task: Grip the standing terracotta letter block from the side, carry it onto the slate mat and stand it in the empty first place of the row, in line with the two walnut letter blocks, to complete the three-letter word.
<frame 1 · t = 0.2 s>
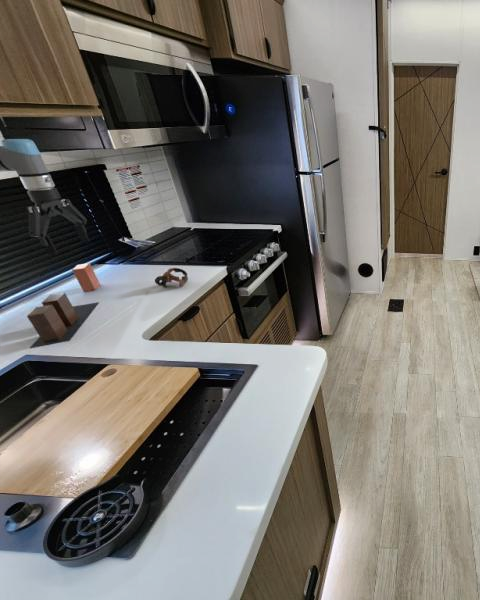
hand: (70, 247, 124), 21 cm above the worktop, tool pointing down, fingers open, 13 cm apart
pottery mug: (173, 286, 142), on the worktop
letter c: (56, 336, 108), point 1 cm above the worktop, touching word mat
letter b: (68, 322, 115), point 1 cm above the worktop, touching word mat
word mat: (69, 324, 116), on the worktop
letter a: (92, 288, 141), on the worktop
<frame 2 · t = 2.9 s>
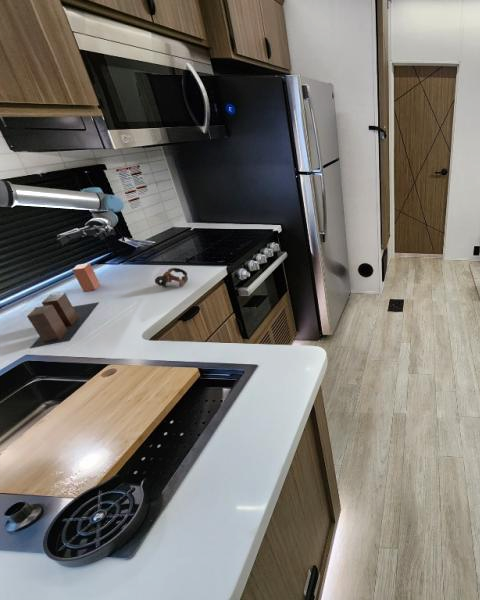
hand: (79, 240, 139), 19 cm above the worktop, tool horizontal, fingers open, 13 cm apart
nothing on the worktop moved.
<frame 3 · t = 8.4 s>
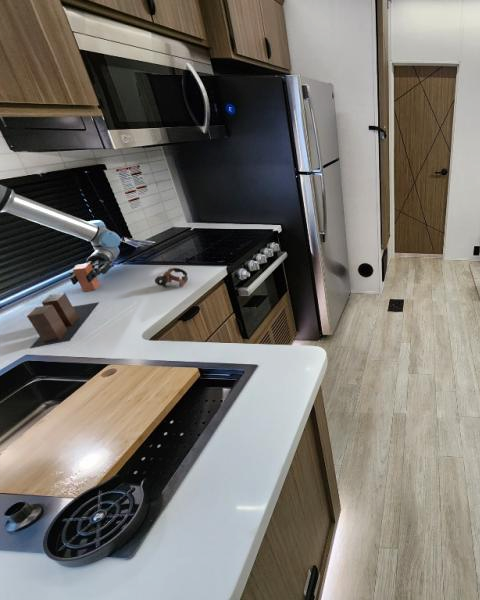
hand: (80, 280, 133), 6 cm above the worktop, tool horizontal, fingers closed on letter a, 4 cm apart
letter a: (92, 287, 141), on the worktop, touching gripper
everything else where it was.
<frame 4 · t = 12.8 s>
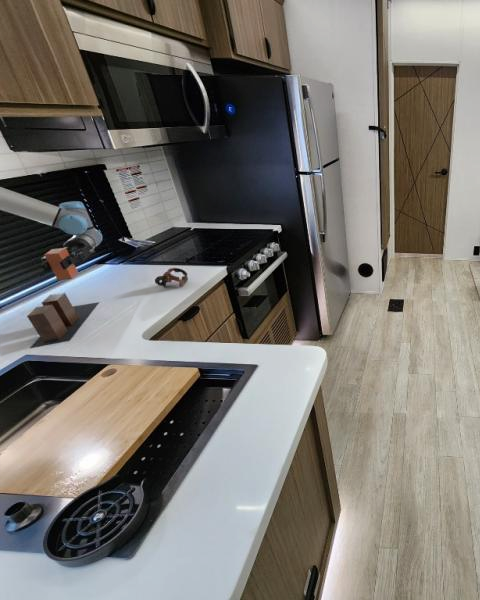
hand: (53, 266, 115), 18 cm above the worktop, tool horizontal, fingers closed on letter a, 4 cm apart
letter a: (68, 276, 122), point 12 cm above the worktop, touching gripper
everything else where it was.
when the fingers open (7 cm above the worktop, at t = 17.0 s): letter a stays where it is, resting on word mat.
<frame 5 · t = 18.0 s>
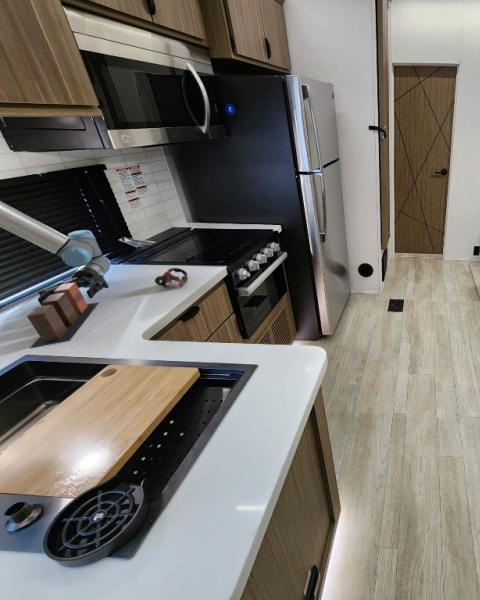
hand: (65, 298, 117), 7 cm above the worktop, tool horizontal, fingers open, 13 cm apart
letter a: (78, 310, 123), point 1 cm above the worktop, touching word mat
everything else where it was.
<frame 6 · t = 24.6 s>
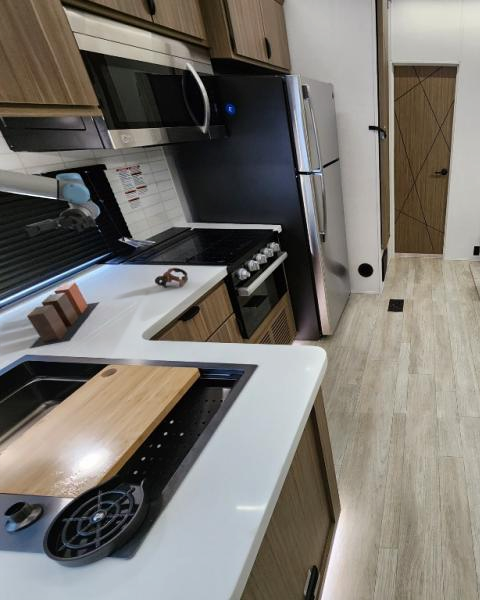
hand: (52, 231, 117), 28 cm above the worktop, tool horizontal, fingers open, 13 cm apart
nothing on the worktop moved.
at the end: letter a 0.0 cm from the target spot on the word mat, point 0.6 cm above the word mat's base; letter a tilted 0°; the gripper is holding nothing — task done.
